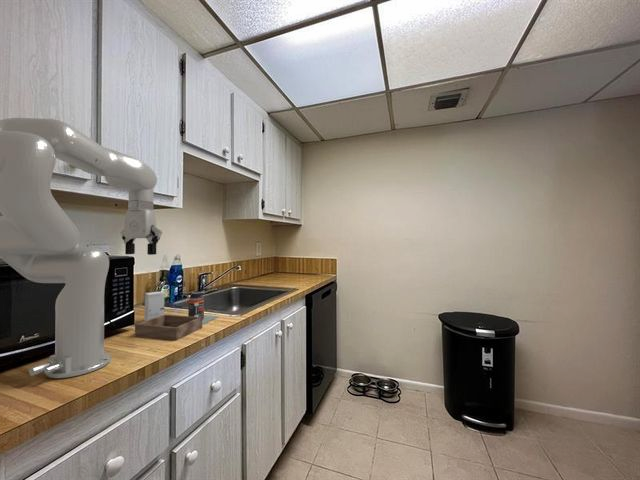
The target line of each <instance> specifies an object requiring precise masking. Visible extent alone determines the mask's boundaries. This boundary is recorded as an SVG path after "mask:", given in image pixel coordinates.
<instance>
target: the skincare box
mask: <svg viewBox="0 0 640 480" xmlns="http://www.w3.org/2000/svg"><path fill="white" fill-rule="evenodd" d="M162 315H165V292H164V291H153V292H145V294H144V321H147V320H150V319H153V318H156V317H159V316H162Z"/></svg>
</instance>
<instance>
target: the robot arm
mask: <svg viewBox="0 0 640 480" xmlns="http://www.w3.org/2000/svg"><path fill="white" fill-rule="evenodd" d="M56 160H60V161H61V162H64V163H65V164H66V163H67V165H70V166H73V167H75V168H76V169H78V170H81V171H83V172H85V173H88V174H90V175H95V176H99V177H104V179H105V181H106V184H107V185H109V186H110V187H111V188H113V189H115V190H123V191H124V190H125V191H128V202H127V204H128V205H127V207H128V210H126V212H125V217H124V224H123V229H122V230H121V231H120V235H121V238H122V240H123V243H124V245H125V246H124V248H125V249H124V250H125V255H134V254H135V253H136V246H135V245H136V244H135V243H134V242H135V241H136V240H137V239H146V240H147V242H148V243H147V250H146V251H147V255H149V256H153V255H157V244H158V243H159V241H160V239H161V236H162V234H163V231H162V230H160V229H159V228H157V220H156V214H155V210H154V188H155V187H156V185H157V183H158V178H157V175H156V173H155V171H154V170H153V169H152V167H150V165H148V164H147V163H145V162H144V161H142V160H141V159H138V158H136V157H134V156H131V155H129V154H126V153H122V152H119V151H117V150H114V149H110V148H107V147H105V146H103V145H101V144H99V143H98V142H96V141H94V140H93V139H92V138H90V137H88V136H87V135H85V134H84V133H83V132H82V131H79V129H77V128H75V127H73V126H72V125H70V124H68V123H67V122H64V121H61V120H59V119H54V118H39V117H37V118H36V117H11V118H4V119H0V214H1V216H0V259H2V260H3V261H4V262H5V263H6V264H8V265H9V266H10V267H11V268H12V269H14V270H15V271H16V272H17V273H18V274H20V275H21V276H22V277H24V278H25V279H26V280H28V281H31V282H34V283H40V284H65V285H64V287H63V288H62V289H61V290H60V292H59V294H58V295H57V297H56V299H55V305H54V310H55V326H54V327H55V331H54V334H55V336H54V339H55V340H54V344H55V345H54V346H55V347H54V348H55V349H54V354H52V355H50V356H49V360H47V361H45V363H42V364H39V365H38V364H37V365H35V366H33V367H30V368H29V370H28V374H29V376H31V377H33V376H36V375H39V374H41V373H42V374H43V373H44V374H45V375H46V377H48V378H50V379H51V378H52V379H65V378H67V379H68V378H72V377H78V376H82V375H86V374H88V373H92V372H94V371H97V370H99V369H101V368H103V367H105V366H106V365H108V364H109V363H110V362H111V360H112V355H111V354H110V353H107V352H105V288H106V282H107V276H108V272H109V268H110V258H109V256H108V255H107V253H106V252H105V251H104V250H102V249H101V248H97V247H93V246H85V245H84V246H83V245H82V246H80V245H81V244H82V235H81V233H80V231H79V228H77V226H76V225H75V223H74V222H73V221H72V220H71V218H70V217H69V216H68V215H67V214H66V212H65V211H64V210H63V209H62V207H61V206H60V204H58V201H57V200H56V199H55V197H54V196H53V194H52V189H51V181H52V177H53V172H54V170H55V167H56V163H57V161H56Z"/></svg>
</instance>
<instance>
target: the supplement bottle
mask: <svg viewBox="0 0 640 480" xmlns="http://www.w3.org/2000/svg"><path fill="white" fill-rule="evenodd" d="M187 305H188V308H187V309H188V311H187V313H188V315H187V316H190V317H202V319H204V316H205V298H204V297H203V296H202V291H193V292H191V293H190V297H189V298H188V301H187Z"/></svg>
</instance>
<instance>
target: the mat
mask: <svg viewBox="0 0 640 480" xmlns="http://www.w3.org/2000/svg"><path fill="white" fill-rule="evenodd" d="M216 319H219V316H215V315H204V319H202V326H203V325H206V324H207V323H210V322H211V321H214V320H216Z"/></svg>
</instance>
